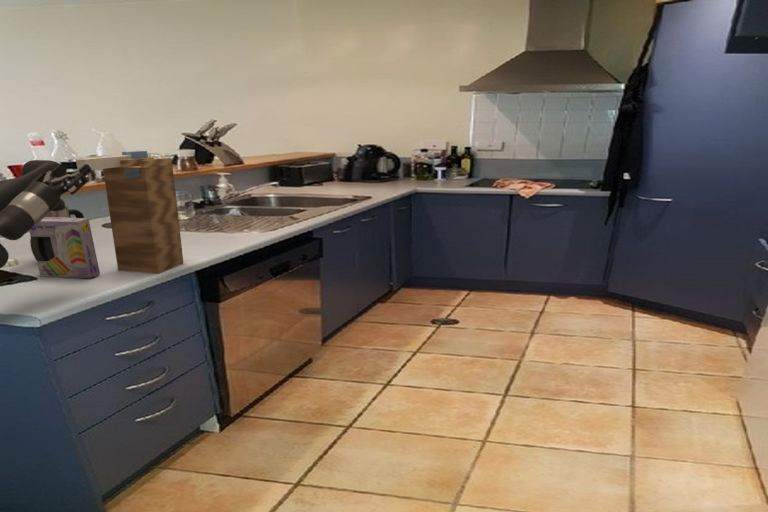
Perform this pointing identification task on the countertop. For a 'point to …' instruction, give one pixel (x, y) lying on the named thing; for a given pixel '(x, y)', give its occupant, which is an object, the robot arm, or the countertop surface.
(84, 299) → the countertop surface
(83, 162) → the cream and blue bar
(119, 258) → the wood grain block
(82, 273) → the cake pan box
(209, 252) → the countertop surface
